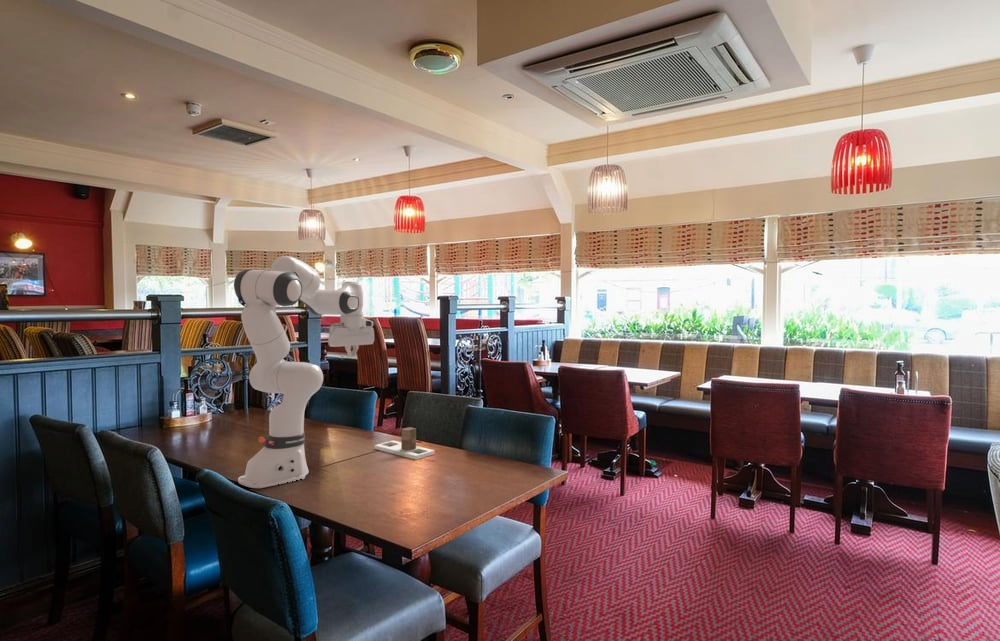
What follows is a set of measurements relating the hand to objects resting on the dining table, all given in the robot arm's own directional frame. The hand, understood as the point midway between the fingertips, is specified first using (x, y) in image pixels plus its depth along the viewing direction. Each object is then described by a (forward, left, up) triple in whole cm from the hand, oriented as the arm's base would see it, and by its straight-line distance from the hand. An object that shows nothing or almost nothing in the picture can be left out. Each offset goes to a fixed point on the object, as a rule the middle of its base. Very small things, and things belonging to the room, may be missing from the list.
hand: (351, 356), depth 225 cm
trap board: (+10, -20, -37) cm, 43 cm away
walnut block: (+10, -22, -36) cm, 43 cm away
